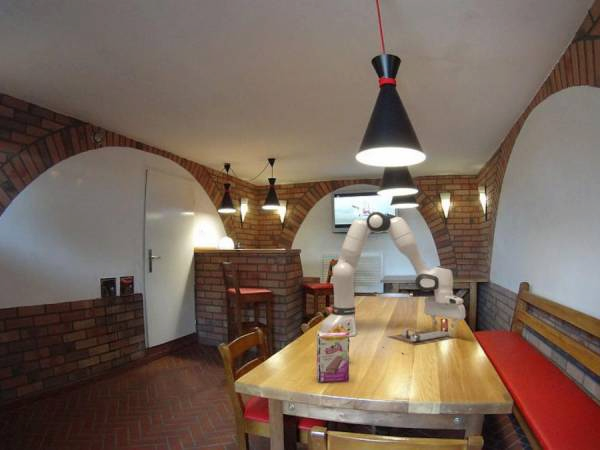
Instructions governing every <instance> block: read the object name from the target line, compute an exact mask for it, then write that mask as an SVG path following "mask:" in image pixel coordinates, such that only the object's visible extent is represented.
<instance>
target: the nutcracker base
mask: <svg viewBox="0 0 600 450" xmlns="http://www.w3.org/2000/svg"><path fill="white" fill-rule="evenodd" d="M408 330H410V329H408V328H404V329H402V330H401V334H395V335H388V336H387V338H390V339H393V340H395V341H399V342H402V343H405V344H408V345H411V346H414V347H415V346H421V345H426V344H431V343H437V342H443V341H447V340H453V339H457V337H454V336H452V335H446V336H441V337H436V338H430V339H425V340H420V342H414V341H411V340H410V339H408ZM431 332H434V331H432V330H429V329H426V330H420V331H417V335H419V334H425V333H431Z"/></svg>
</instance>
